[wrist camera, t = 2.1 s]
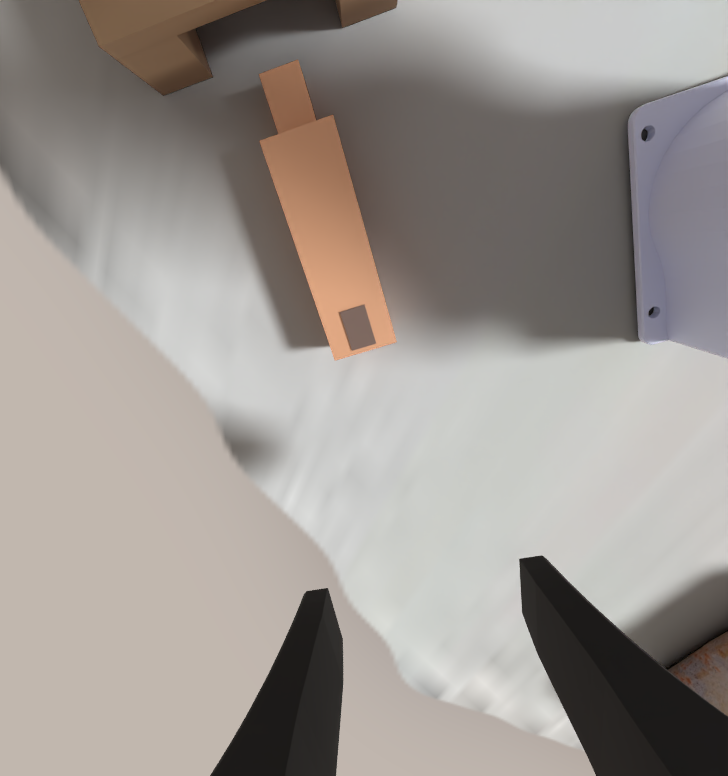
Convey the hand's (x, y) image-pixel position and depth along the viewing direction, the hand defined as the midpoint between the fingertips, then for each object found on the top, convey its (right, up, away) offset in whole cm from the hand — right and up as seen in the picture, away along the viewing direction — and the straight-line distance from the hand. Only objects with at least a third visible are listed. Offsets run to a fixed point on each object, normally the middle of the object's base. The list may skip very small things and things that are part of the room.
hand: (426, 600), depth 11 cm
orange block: (-3, +13, +5) cm, 14 cm away
